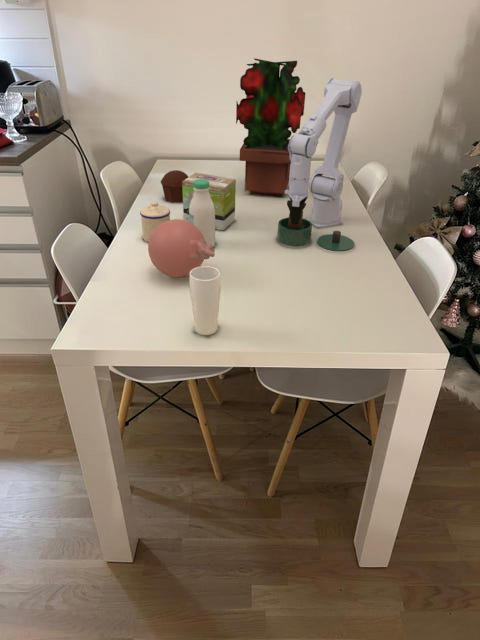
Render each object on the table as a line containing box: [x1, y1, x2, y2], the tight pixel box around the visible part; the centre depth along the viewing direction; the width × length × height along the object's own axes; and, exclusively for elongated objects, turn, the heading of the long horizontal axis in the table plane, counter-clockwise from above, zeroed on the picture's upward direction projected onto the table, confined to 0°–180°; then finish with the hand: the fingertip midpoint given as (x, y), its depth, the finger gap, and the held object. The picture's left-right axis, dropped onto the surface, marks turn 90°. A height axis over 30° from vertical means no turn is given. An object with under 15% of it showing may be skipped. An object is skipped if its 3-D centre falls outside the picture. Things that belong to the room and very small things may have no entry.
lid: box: [316, 230, 355, 252], centre depth 152 cm, size 11×11×4 cm
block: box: [288, 210, 304, 228], centre depth 151 cm, size 4×4×4 cm
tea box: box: [182, 172, 237, 232], centre depth 162 cm, size 15×10×15 cm, turn 68°
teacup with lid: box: [139, 201, 171, 243], centre depth 152 cm, size 12×9×12 cm
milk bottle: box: [189, 179, 216, 248], centre depth 145 cm, size 8×8×20 cm
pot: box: [276, 216, 313, 248], centre depth 153 cm, size 10×10×6 cm
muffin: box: [160, 169, 189, 204], centre depth 181 cm, size 12×11×10 cm
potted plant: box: [235, 58, 306, 198], centre depth 180 cm, size 22×22×45 cm
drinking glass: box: [188, 265, 222, 336], centre depth 110 cm, size 7×7×15 cm
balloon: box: [147, 218, 215, 278], centre depth 130 cm, size 15×20×15 cm
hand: (295, 220), depth 151 cm, fingers closed on block, 4 cm apart
